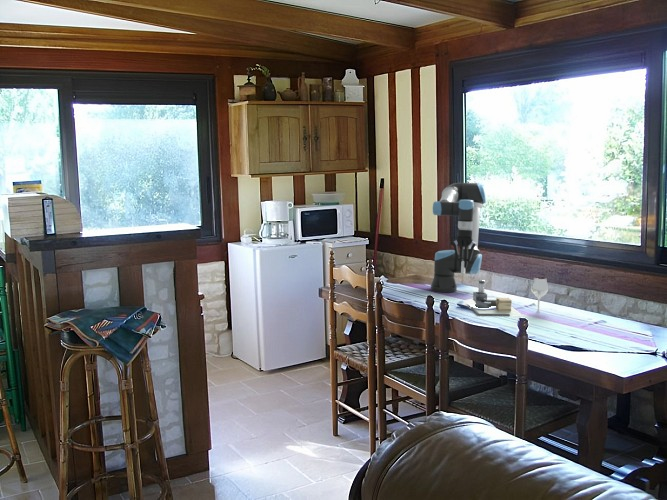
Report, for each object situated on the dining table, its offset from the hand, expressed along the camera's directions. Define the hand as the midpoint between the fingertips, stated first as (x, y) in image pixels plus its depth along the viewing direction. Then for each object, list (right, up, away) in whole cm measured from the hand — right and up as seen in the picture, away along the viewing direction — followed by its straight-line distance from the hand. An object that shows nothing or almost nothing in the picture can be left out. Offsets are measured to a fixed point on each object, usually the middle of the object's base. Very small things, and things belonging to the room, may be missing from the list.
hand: (463, 273), depth 368 cm
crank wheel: (+13, -17, -6) cm, 22 cm away
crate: (+18, -18, -14) cm, 29 cm away
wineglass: (+35, -20, -16) cm, 43 cm away
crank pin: (+9, -13, -3) cm, 16 cm away
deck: (+13, -18, -13) cm, 26 cm away
